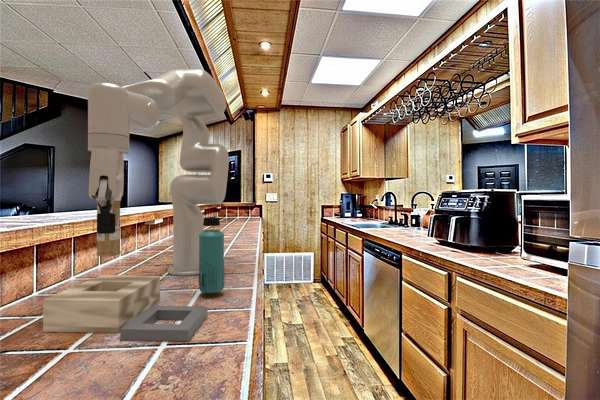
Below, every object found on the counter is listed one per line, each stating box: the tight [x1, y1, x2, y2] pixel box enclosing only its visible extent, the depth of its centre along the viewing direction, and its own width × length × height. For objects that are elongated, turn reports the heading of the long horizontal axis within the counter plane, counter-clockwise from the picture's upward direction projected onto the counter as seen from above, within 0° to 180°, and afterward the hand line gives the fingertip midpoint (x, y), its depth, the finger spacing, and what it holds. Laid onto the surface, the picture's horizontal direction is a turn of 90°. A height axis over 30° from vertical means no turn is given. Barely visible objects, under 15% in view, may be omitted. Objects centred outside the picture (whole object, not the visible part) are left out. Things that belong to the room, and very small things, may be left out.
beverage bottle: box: [197, 216, 225, 294], centre depth 84 cm, size 6×7×20 cm
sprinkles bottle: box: [95, 192, 122, 258], centre depth 70 cm, size 5×5×14 cm
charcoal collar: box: [119, 305, 209, 342], centre depth 64 cm, size 12×12×2 cm
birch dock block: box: [42, 274, 161, 334], centre depth 70 cm, size 18×14×6 cm
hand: (108, 230), depth 70 cm, fingers closed on sprinkles bottle, 4 cm apart
